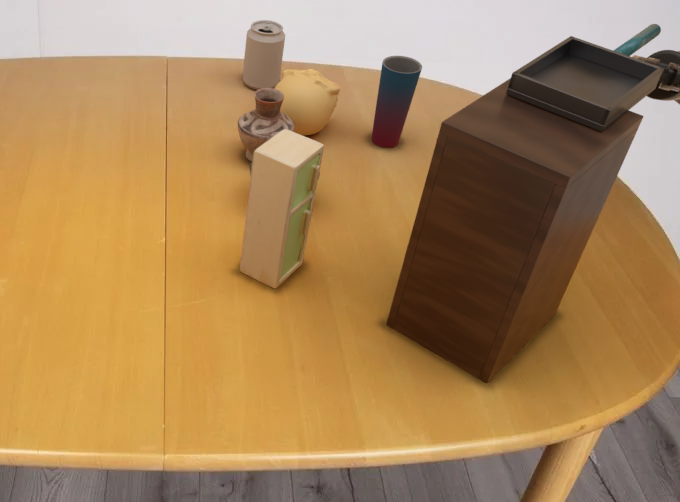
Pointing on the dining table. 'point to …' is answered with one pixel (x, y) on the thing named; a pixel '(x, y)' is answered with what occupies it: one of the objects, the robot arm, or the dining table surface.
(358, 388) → the dining table surface
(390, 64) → the cup
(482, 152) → the wooden filing cabinet
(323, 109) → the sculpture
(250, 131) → the pottery
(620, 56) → the grey square pan
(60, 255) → the dining table surface
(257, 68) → the can
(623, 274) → the dining table surface
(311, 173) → the toy refrigerator
